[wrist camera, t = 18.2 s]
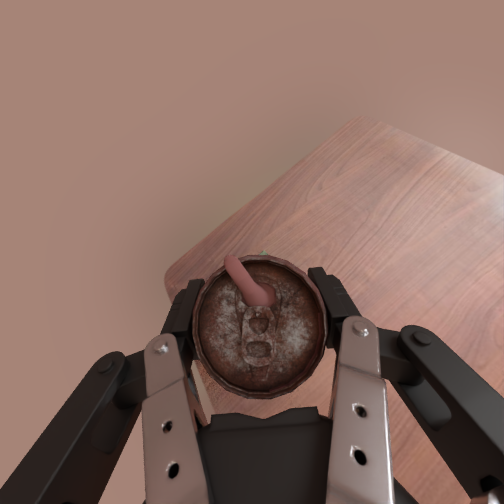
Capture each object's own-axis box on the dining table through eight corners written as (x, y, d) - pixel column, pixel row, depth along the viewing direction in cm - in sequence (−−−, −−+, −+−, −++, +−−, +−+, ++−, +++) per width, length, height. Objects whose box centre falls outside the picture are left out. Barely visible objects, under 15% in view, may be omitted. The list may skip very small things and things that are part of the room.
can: (266, 266, 23) (270, 218, 9) (301, 314, 21) (369, 345, 8) (221, 298, 22) (153, 299, 8) (254, 349, 21) (238, 450, 7)
